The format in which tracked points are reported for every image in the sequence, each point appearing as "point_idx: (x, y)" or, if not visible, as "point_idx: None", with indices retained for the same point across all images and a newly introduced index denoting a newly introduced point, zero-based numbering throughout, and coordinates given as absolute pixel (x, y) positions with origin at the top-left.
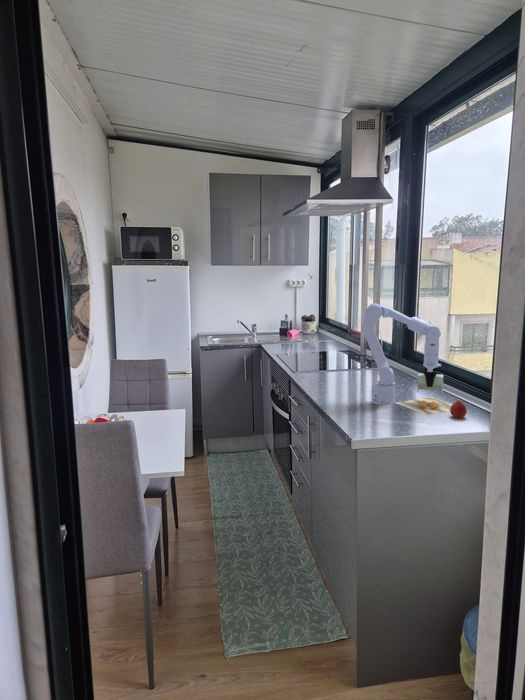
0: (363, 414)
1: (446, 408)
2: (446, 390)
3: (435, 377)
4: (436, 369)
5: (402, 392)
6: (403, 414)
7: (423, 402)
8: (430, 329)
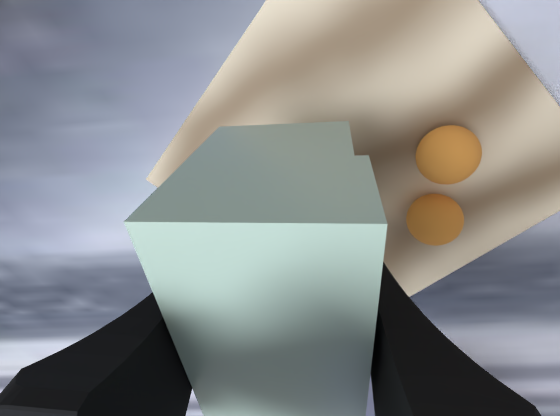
0: (540, 398)
1: (414, 47)
2: None
3: (374, 317)
4: (110, 388)
5: (115, 301)
6: (532, 280)
7: (459, 229)
8: None
